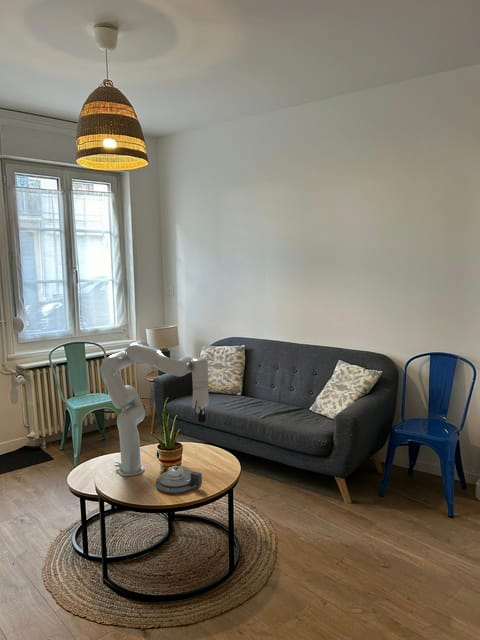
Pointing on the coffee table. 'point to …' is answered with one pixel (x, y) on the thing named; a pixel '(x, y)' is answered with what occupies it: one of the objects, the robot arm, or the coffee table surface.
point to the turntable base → (174, 490)
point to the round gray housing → (188, 479)
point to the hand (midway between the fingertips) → (202, 421)
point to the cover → (175, 473)
